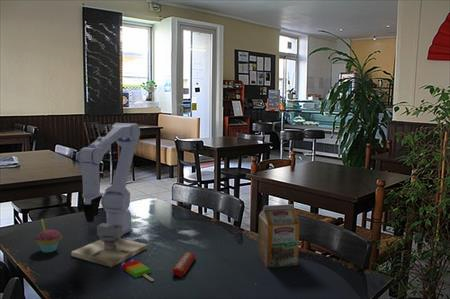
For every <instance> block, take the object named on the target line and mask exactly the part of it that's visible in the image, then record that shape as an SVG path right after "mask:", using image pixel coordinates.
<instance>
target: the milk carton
mask: <svg viewBox="0 0 450 299" xmlns="http://www.w3.org/2000/svg"><path fill="white" fill-rule="evenodd" d="M262 208H263V209H262V210H261V211H260V213H259V215H258V232H257V233H258V236H257V242H258V243H257V256H258V257H259V258H260V260H261V261H262V263H263V264H264V266H265V267H266V268H277V267H278V268H279V267H280V268H281V267H291V266H298V265H299V246H300V245H299V243H300V220H299V218H298V215H297V212H296V208H295V204H275V205H273V204H270V205H264V206H263V207H262Z"/></svg>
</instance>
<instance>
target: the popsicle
mask: <svg viewBox="0 0 450 299" xmlns="http://www.w3.org/2000/svg"><path fill="white" fill-rule="evenodd" d="M121 266H122V267H121V269H122V270H123V271H125V272H126V273H128V274H129V275H131V277H133V278H135V279H137V278H139V277H140V278H141V277H144V278H145V279H147V280H148V281H150V282H154V281H155V279H153V277H150V276H149V274H151V273H152V269H151V268H149V267H148V266H146V265H145V264H143V263H141V262H140V261H139V260H131V261H127V262H124V263H122V265H121Z"/></svg>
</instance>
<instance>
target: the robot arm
mask: <svg viewBox="0 0 450 299" xmlns="http://www.w3.org/2000/svg"><path fill="white" fill-rule="evenodd" d="M110 129H111V130H109V131H108V133H106V135H105V136H98V137H97V138H96V139H95V141H92V143H90V144H89V145H88V146H87V147H82V148H81V149H80V150H79V151H78V155H77V160H78V162H79V165H80V169H81V173H82V175H81V177H82V199H84V201H80V203H79V205H80V207H81V209H82V211H83V214H84V216H85V220H86V223H94V221H95V217H96V216H98V214H99V209H100V204H101V207H102V209H104V212H106V214H105V215H106V223H107V224H114V225H122V236H123V235H125V234H127V233H129V232H131V231H133V230H134V228H132V213H131V211H130V210H129V207H130V203H131V192H130V191H129V190H128V188H127V187H126V186H127V183H128V179H129V178H128V177H129V175H130V170H131V167H132V162H133V158H134V154H135V150H136V147H137V146H138V144H139V141H140V136H141V129H140V126H139V124H138V123H126V122H125V123H121V122H114V124H112V125H111V128H110ZM115 142H116V144H117V145H118V146H119V147H121V149H120V151H119V152H120V154H119V157H118V161H117V165H116V169H115V172H114V177H113V181H112V185H110V186H108V187H107V188H105V191H104V192H101V190H100V188H101V186H100V164H101V162H102V161H103V158H104V156H105V154H107V153H108V151H110V150H111V148H112V144H114V143H115Z"/></svg>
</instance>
